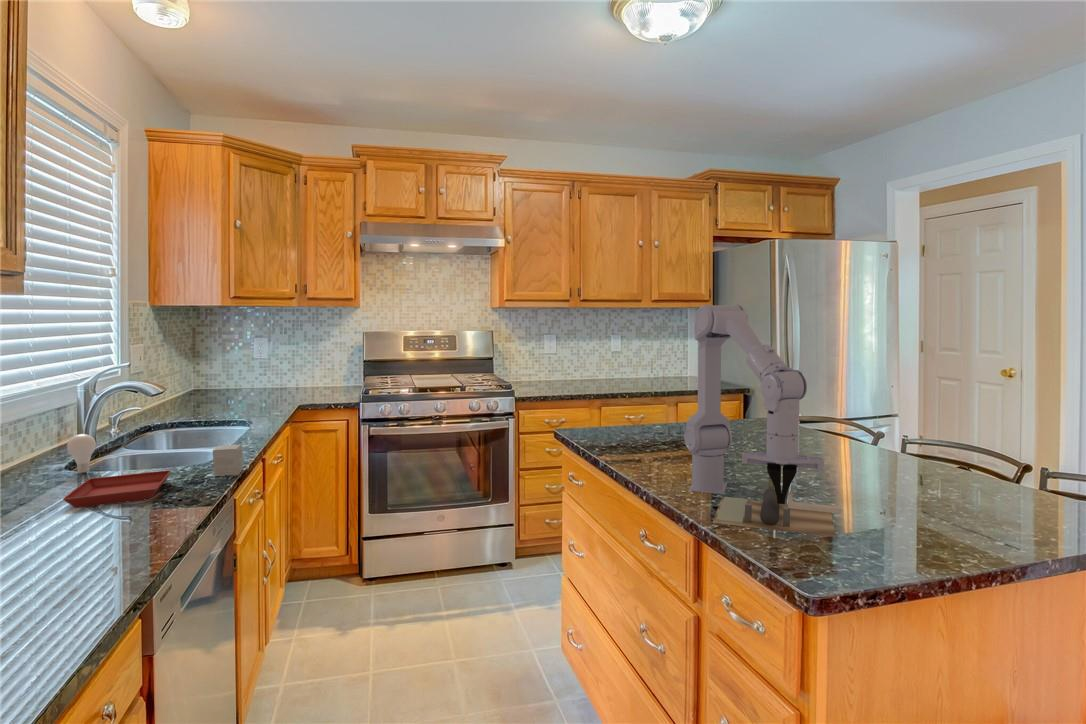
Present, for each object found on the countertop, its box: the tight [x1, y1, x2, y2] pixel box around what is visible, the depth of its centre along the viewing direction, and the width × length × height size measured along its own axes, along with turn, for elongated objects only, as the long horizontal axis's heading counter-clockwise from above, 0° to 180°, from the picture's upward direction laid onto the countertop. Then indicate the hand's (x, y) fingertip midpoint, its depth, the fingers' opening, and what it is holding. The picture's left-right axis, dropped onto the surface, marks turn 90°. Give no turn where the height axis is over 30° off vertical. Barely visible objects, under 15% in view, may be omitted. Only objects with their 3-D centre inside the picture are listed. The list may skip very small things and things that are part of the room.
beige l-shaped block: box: [787, 491, 843, 514], centre depth 113 cm, size 2×9×3 cm, turn 67°
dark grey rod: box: [760, 488, 780, 526], centre depth 122 cm, size 14×3×3 cm, turn 157°
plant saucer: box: [62, 470, 172, 508], centre depth 144 cm, size 18×18×3 cm
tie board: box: [712, 496, 837, 538], centre depth 121 cm, size 17×22×4 cm
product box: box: [212, 443, 244, 477], centre depth 162 cm, size 6×6×7 cm
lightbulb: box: [66, 433, 97, 475], centre depth 164 cm, size 6×6×11 cm
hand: (781, 502), depth 116 cm, fingers closed
